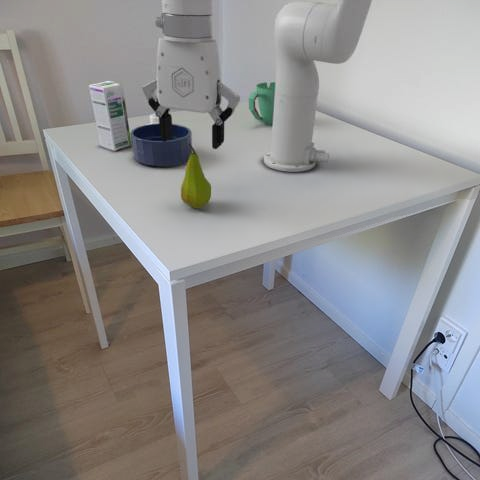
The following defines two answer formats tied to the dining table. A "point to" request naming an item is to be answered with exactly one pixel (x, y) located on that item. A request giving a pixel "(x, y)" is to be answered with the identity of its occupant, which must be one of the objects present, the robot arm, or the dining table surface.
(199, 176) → the fruit
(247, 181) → the dining table surface
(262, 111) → the mug
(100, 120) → the syrup box
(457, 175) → the dining table surface
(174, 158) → the bowl
